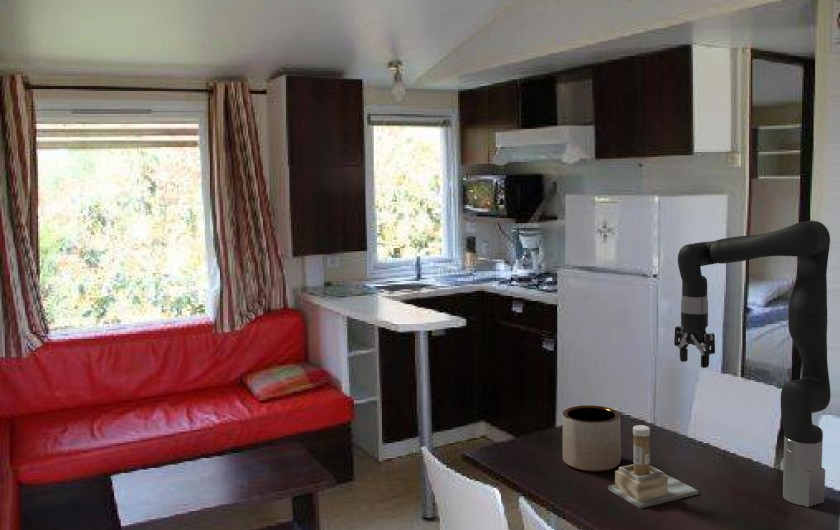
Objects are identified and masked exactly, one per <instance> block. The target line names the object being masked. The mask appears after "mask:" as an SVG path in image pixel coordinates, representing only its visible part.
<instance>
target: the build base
mask: <svg viewBox="0 0 840 530" xmlns="http://www.w3.org/2000/svg"><path fill="white" fill-rule="evenodd" d="M633 471H634V463H632V464H628V465H622V466H619V467H618V469H617V470H615V471H614V484H610V485H608V486H607V490H609V491H610V492H611V493H612V494H615V495H617V497H620V498H622V499H623V500H625V501H626V502H629V503H631V505H634V506H635V507H636V508H638V509H644V508H648V507H652V506H655V505H660V504H664V503H667V502H671V501H676V500H680V499H684V497H685V498H688V496H689V497H692V496H695V495H699V490H697V489H696V488H694V487H692V486H691V485H688V484H686V483H684V482H682V481H680V480H678V479H676V478H674V477H672V476H671V475H668V474H666V473H665V472H664V471H662V470H660V469H658V468H656V467H654V466H652V465H650V474H648V475H644V476H637V475H635V474H634V473H633Z"/></svg>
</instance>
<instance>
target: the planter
mask: <svg viewBox="0 0 840 530" xmlns="http://www.w3.org/2000/svg"><path fill="white" fill-rule="evenodd" d="M621 438H622V437H621V414H620V412H619V411H618V410H615V409H613V408H611V407H606V406H602V405H592V404H591V405H587V404H585V405H576V406H570V407H567V408H566V409H564V411H562V460H563V462H564V463H565V464H566V465H568V466H569V467H571V468H574V469H577V470H580V471H583V472H584V471H585V472H605V471H609V470H613V469H614V468H616V467H618V466H619V465H620V463H621V460H622V447H621V442H622V441H621V440H622V439H621Z"/></svg>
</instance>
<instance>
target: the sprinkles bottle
mask: <svg viewBox="0 0 840 530" xmlns="http://www.w3.org/2000/svg"><path fill="white" fill-rule="evenodd" d="M632 435H633V444H632V445H633V457H632V458H633V464H634V471H633V473H634V474H635V475H637V476H644V475H648V474H650V464H651V463H650V461H651V460H650V459H651V458H650V457H651V456H650V455H651V453H650V447H651V446H650V435H651V428H650V427H649V426H647V425H644V424H643V425H642V424H640V425H639V424H638V425H634V426H633V427H632Z"/></svg>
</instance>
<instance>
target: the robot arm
mask: <svg viewBox="0 0 840 530" xmlns="http://www.w3.org/2000/svg"><path fill="white" fill-rule="evenodd" d="M830 245H831V235H830V232H829V229H828V228H827V226H826V225H825V224H824V223H822V222H820V221H818V220H806V221H799V222H796V223H794V224H792V225H790V226H787V227H784V228H781V229H777V230H774V231H771V232H770V231H769V232H767V233H760V234H753V235H752V234H751V235H750V234H749V235H740V236H739V235H738V236H732V237H731V236H730V237H726V238H721V239H716V240H710V241H702V242H695V243H688V244H685V245H683V246H682V247H681V248H680V249H679V252H678V255H677V264H678V270H679V274H680V278H681V282H682V283H681V300H680V325H678V326H675V327H674V339H673V340H674V342H673V345H674V346H675V347H677V348H678V349H679V360H680V362H683V363H685V362H687V361H688V359H689V358H688V357H689V356H688V351H689V350H688V347H689V346H690V345H692V346H695V347H696V349H697V350H699V352H700V367H701V368H703V369H707V368H709V365H710V355H713V354H716V341H715V340H716V338H715V333H714V332H712V333H707V330H706V329H707V327H708V326H709V300H708V280H707V277H706V276H704V275H703V274H702V269H701V267H705V266H711V265H715V264H716V265H717V264H729V263H730V264H731V263H732V264H733V263H737V262H745V261H749V260H754V259H759V258H760V259H761V258H766V257H767V258H768V257H796V262H797V263H796V264H797V270H796V277H795V282H794V285H793V287H792V290H791V294H790V297H789V301H788V308H787V309H788V310H787V312H788V313H787V315H788V317H787V319H788V320H787V324H788V333H789V334H790V337H791V339H792V341H793V343H794V345H795V347H796V349H797V350H798V351H797V352H799V355H800V358H801V377H800V378H799V379H794V380H790V381H787V382H786V383H785V384H784V385H783V386H782V388H781V391H780V392H781V393H780V418H781V419H780V422H781V426H782V428H783V432H784V433H783V468H782V469H783V470H782V473H783V475H782V477H783V478H782V498H783V499H784V500H786V501H787V502H790V503H792V504H793V505H798V506H803V507H806V508H810V506H811V507H814V506H813V505H815V506H817V505H816V504H818V505H821V504H820V503H822V504H824V503H825V491H826V490H825V489H826V487H825V486H826V469H825V468H824V467H823V439H824V433H823V429H822V428H821V427H820V426H818V425H815V424H814V423H813V414H814V413H818V412H822V411H823V410H825V409H827V408H828V406H829V404H830V403H831V402H830V401H831V395H832V394H831V383H830V382H831V381H830V375H829V374H830V373H829V365H828V335H827V334H828V283H827V281H828V280H827V278H828V277H827V274H828V273H827V272H828V271H827V270H828V264H829V263H828V262H829V254H830Z"/></svg>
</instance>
